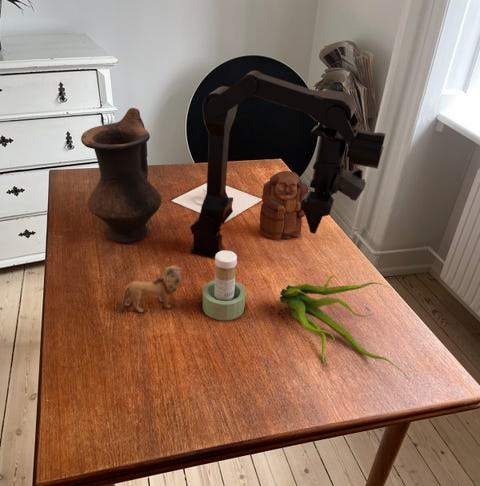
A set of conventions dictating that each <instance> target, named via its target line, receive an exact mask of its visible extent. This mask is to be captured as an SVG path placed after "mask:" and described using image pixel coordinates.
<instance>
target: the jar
mask: <svg viewBox="0 0 480 486" xmlns="http://www.w3.org/2000/svg"><path fill="white" fill-rule="evenodd" d="M214 289H215V279H212V280H209V281H208V282H207V283H205V284H204V286H203V288H202V301H201V302H202V303H201V305H202V306H201V308H202V311H203V313H204V314H205V315H206V316H208V317H209V318H211V319H214V320H217V321H232V320H236V319H238V318H239V317H241V315H242V314H243V313H244V311H245V305H246V294H247V293H246V289H245V287H244V285H242V284H241V282H238V281H236V280H235V289H234V298H233V300H231V301H220V300H216V299H214V297H215V294H214Z"/></svg>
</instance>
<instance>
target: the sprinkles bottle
mask: <svg viewBox="0 0 480 486" xmlns="http://www.w3.org/2000/svg"><path fill="white" fill-rule="evenodd" d="M237 264H238V256H237V253H235V252H234V251H232V250H224V249H223V250H220V251H219V252H218V253H217V254H216V255H215V257H214V265H215V270H214V273H215V274H214V280H215V289H214V294H215V297H214V299H216V300H220V301H231V300H233V298H234V289H235V281H236V266H237Z"/></svg>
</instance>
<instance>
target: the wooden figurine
mask: <svg viewBox="0 0 480 486" xmlns="http://www.w3.org/2000/svg"><path fill="white" fill-rule="evenodd" d="M309 191H310V190H309V186H308V185H307V183H306V182H304V181H303V180H302V179H301V177H300V176H299V175H298V174H297V173H296V172H295V171H290V170H282V171H278V172H276V173H274V174H273V175H272V176H270V178H269V180H268V181H266V182H265V183H264V184H263V188H262V195H261V199H262V200H261V201H262V204H261V208H260V211H259V231H260V234H262V235H263V237H266V238H267V239H269V240H275V241H279V240H290V239H291V240H292V238H300V236H301V231H302V224H303V218H304V217H306V216H305V214H304V211H303V210H302V209H301V204H302V200H303V198H304V196H305V194H306V193H308V192H309Z"/></svg>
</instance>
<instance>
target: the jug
mask: <svg viewBox="0 0 480 486" xmlns="http://www.w3.org/2000/svg"><path fill="white" fill-rule="evenodd" d="M150 138H151V135H150V133H149V131H148V130H147V129H146V127H145V124H144V122H143V119H142V117H141V112H140V110H139V108H136V107H129V108H128V110H127V111H126V113H125V115H124V116H123V117H122V118H121V119H120V120H119V121H117V122H112V123H107V124H103V125H97V126H93V127H91V128H89V129H87V130H85V131H84V132H83V133H82V135H81V137H80V141H81V144H83V146H84V147H85V148H88V149H93V150H94V154H95V157H96V160H97V164H98V169H99V173H100V177H99V181H98V182H97V184H96V185H95V187H94V188H93V190H92V191H91V193H90V195H89V197H88V199H87V207H88V209H89V212H90V213H91V214H93V215H94V216H95V217H97V218H99V219H100V220H101V221H102V222H104V224H105V225H106V226H107V227H106V230H105V235H106V237H107V239H109V240H110V241H113V242H115V243H121V244H132V243H135V242H138V241H142V240H144V239H145V238H146V237H148V234H149V229H148V226H147V223H148V222H149V221H150V220H151V219H152V217H153V216H154V215H155V214H156V213H157V212H158V210H159V209H160V208H161V205H162V201H163V198H162V195H161V193H160V192H159V191H158V189H156V188H155V186H153V185H152V184H151V183H150V182H149V180H148V177H149V164H148V141H149V140H150Z"/></svg>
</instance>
